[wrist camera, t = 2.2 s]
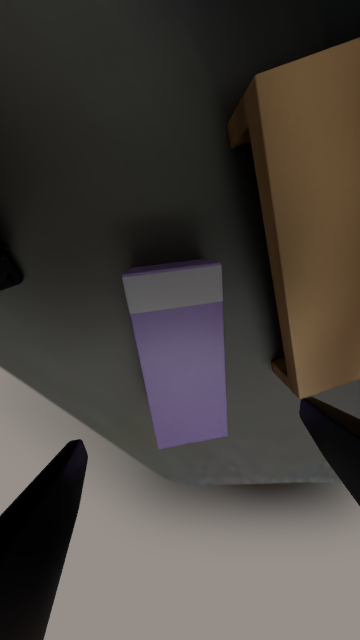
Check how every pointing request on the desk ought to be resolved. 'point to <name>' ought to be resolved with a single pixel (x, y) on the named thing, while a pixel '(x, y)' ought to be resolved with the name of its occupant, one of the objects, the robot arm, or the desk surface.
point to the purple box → (180, 347)
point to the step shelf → (310, 209)
